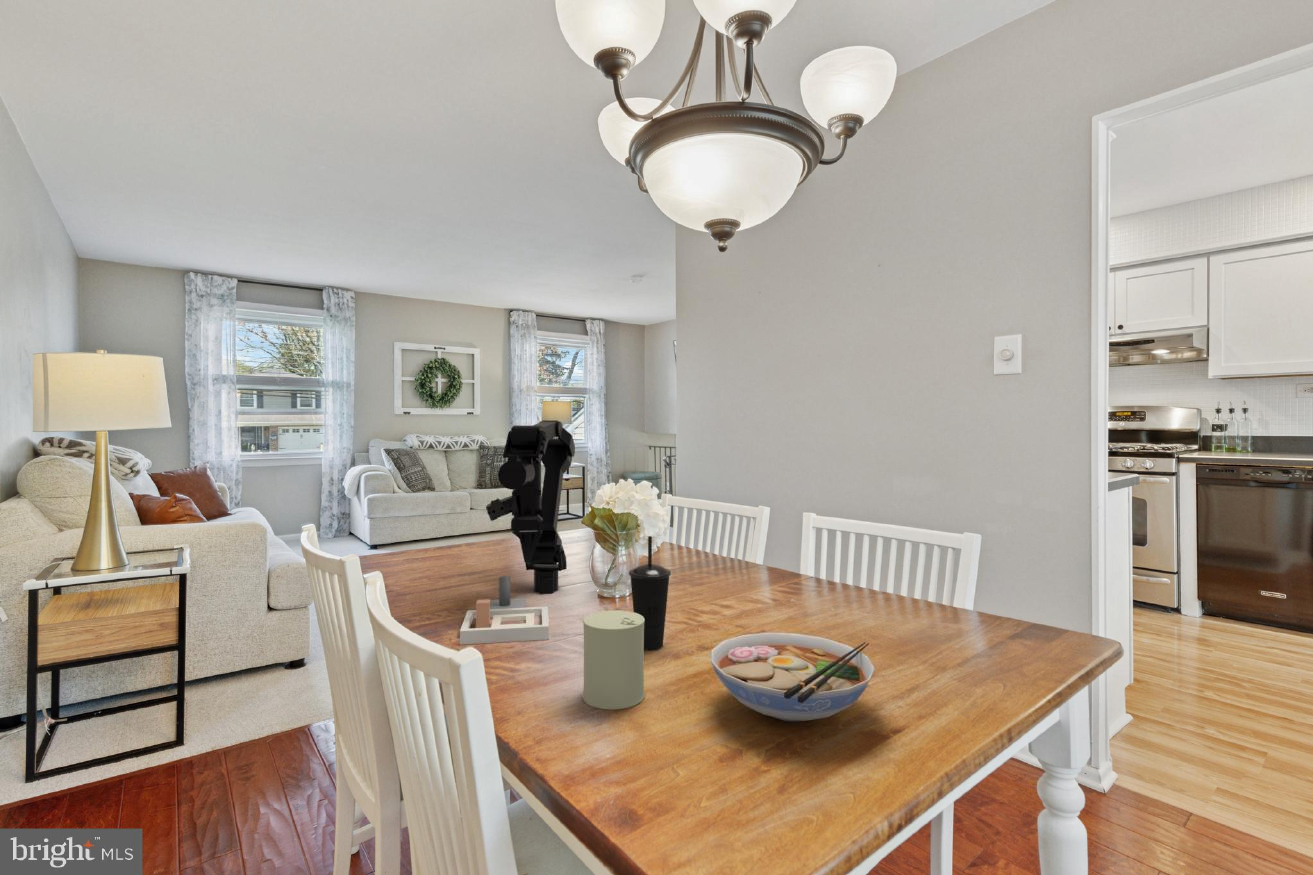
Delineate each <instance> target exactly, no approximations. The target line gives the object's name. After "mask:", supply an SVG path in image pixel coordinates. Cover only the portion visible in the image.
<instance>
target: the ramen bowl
mask: <svg viewBox="0 0 1313 875" xmlns="http://www.w3.org/2000/svg"><path fill="white" fill-rule="evenodd" d="M869 644H870V643H869V642H868V643H866V641H865V642H863V643H861V644H860V645H858V646H857V647H855V648H854V647H852V646H850V645H847V644H845V643H841V642H839V641H835V640H832V639H829V638H826V637H821V636H814V635H807V634H801V633H793V632H792V633H790V632H789V633H787V632H770V631H769V632H760V633H759V632H758V633H750V634H742V635H738V636H736V637H732V638H728V639H724V640H722V641H720V643H718V644H717V645H715V646H714V648H712V649H711V651H710V664H711V665H712V669H713V671H714V673H715V674H716V675H717V677H718V679H719V680H720V682H721V684H722V685H723V686H724V687H725V688H726V689H727V690H728V691H729V693H730V694H731V695H732V696H734V698H735V699H736V700H737V701H738V702H740V703H741V704H742V705H744V706H746V707H747V708H749V709H752V710H754V711H755V712H758V713H760V714H762V715H764V716H768V717H772V718H774V719H777V720H781V721H784V722H785V721H786V722H806V721H812V720H819V719H826V718H829V717H831V716H833V715H836V714H838V713H840V712H842V711H844V710H846V709H848V708H850V707H851V706H852V705H853V704H855V702H857V701H858V699H859V698H860V697H861V695H863V692H865V690H866V688H867V687H868V685H869V682H870V681H871V679H872V676H873V674H874V672H875V670H876V667H875V666H874V664H873V662H872V661H871V659H870V657H869V656H867V655H866V654H864V653H863V652H862V651H864V649H865V648H866V647H867V646H869Z"/></svg>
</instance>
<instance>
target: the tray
mask: <svg viewBox="0 0 1313 875" xmlns="http://www.w3.org/2000/svg"><path fill="white" fill-rule="evenodd" d="M548 610H549V608H548V606H531V607H526V608H508V609H490V619H493V616H494V615H507V614H527V613H534V616H541V624H534V625H527V626H508V627H490V628H476V627H473V628H472V627H471V626H472V623H473V620H474V619H476V609H472V610H471V609H470V610H467V611H466V613H465V616H464V620H463V622H462V624H461V627H460V629H459V645H460V646H461V645H479V644H494V643H496V644H498V643H512V642H515V643H516V642H530V641H546V640H550V627H549V626H550V625H549V624H550V622H549V611H548Z"/></svg>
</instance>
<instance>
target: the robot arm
mask: <svg viewBox="0 0 1313 875" xmlns="http://www.w3.org/2000/svg"><path fill="white" fill-rule="evenodd" d="M505 441H506V442H505V444H504V449H503V453H502V458H503V459H507V461H505V462H504V463H503V464H501V466H500V468H499V470H498V471H497V479H498V480H499V483H500V484H501V485H502V486H503V487H504V488H505V489H508V490H512V491H511V495H509V496H507V497H504V498H501V499H500V498H496V499H494V500H490V503H489V504H487V505H486V506H485V509H486V513H487V515H488V517H489V520H490V521H491V522H492V521H495V520H498V518H501V517H503V516H506V515H508V514H509V515H510V514H511V516H513V517H512V518H511V520H510V532H511V534H513V535H514V536H516V537H517V538H518V539H519V542H520V548H521V551H522V556H523V560H524V561H523V562H524V564H525V570H526V571H533V592H534V593H538V594H539V595H553V594H555V593H556V592H557V591H559V572H561V571H565V570H567V566H568V565H567V556H566V552H565V550H564V547H563V544H562V543H563V541H562V539H561V537H560V535H559V534H560V533H558V529H557V528H558V522H559V520H558V519H559V513H560V506H561V504H560V503H561V497H562V489H563V480H564V474H565V473H566V471H567V470H569V468H570V467H571V466H572V461H573V457H575V453H576V445H575V442H574V438H573V435H572V433H570V431H568V430H567V429H565V428H564V427H563V424H562V421H561V420H560V421H559V420H554V419H553V420H552V419H551V420H547V419H546V420H545V419H544V420H541V421H539V422H538V423H535V424H533V425H520V424H519V425H517V424H515V425H512V427H511V428H510V430H508V434H507V437H506V440H505ZM542 464H543V467H544V475H543V482H542Z"/></svg>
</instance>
